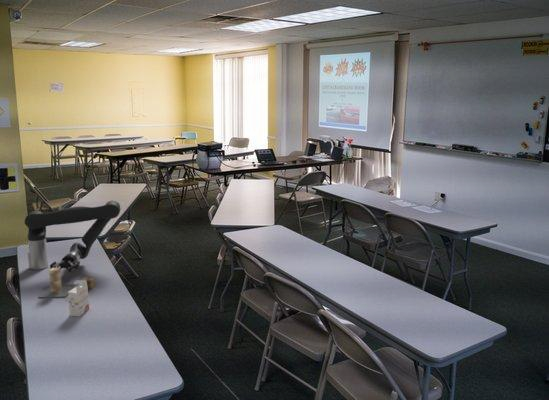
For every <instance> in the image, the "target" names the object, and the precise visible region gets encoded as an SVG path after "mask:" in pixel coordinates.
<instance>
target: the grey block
mask: <svg viewBox="0 0 549 400" xmlns="http://www.w3.org/2000/svg"><path fill="white" fill-rule="evenodd" d="M84 281H86V280H82V279H76V280H75V281H74V282H73V284H72V286H73V289H74V288H75V287H76V286H78V285H79V284H81V283H82V282H84ZM81 286H83V285H81Z"/></svg>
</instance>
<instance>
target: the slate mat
mask: <svg viewBox="0 0 549 400" xmlns="http://www.w3.org/2000/svg"><path fill="white" fill-rule="evenodd" d="M72 289H73V285H72V286H71V285H68V286H62V290H61V292H60V293H51V286H47V287H46V288H45V289H44V290H43V292H41V294H40V295H38V299H51V298H52V299H55V298H56V299H57V298H58V299H59V298H61V299H62V298H67V297H68V292H69V291H70V290H72Z"/></svg>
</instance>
